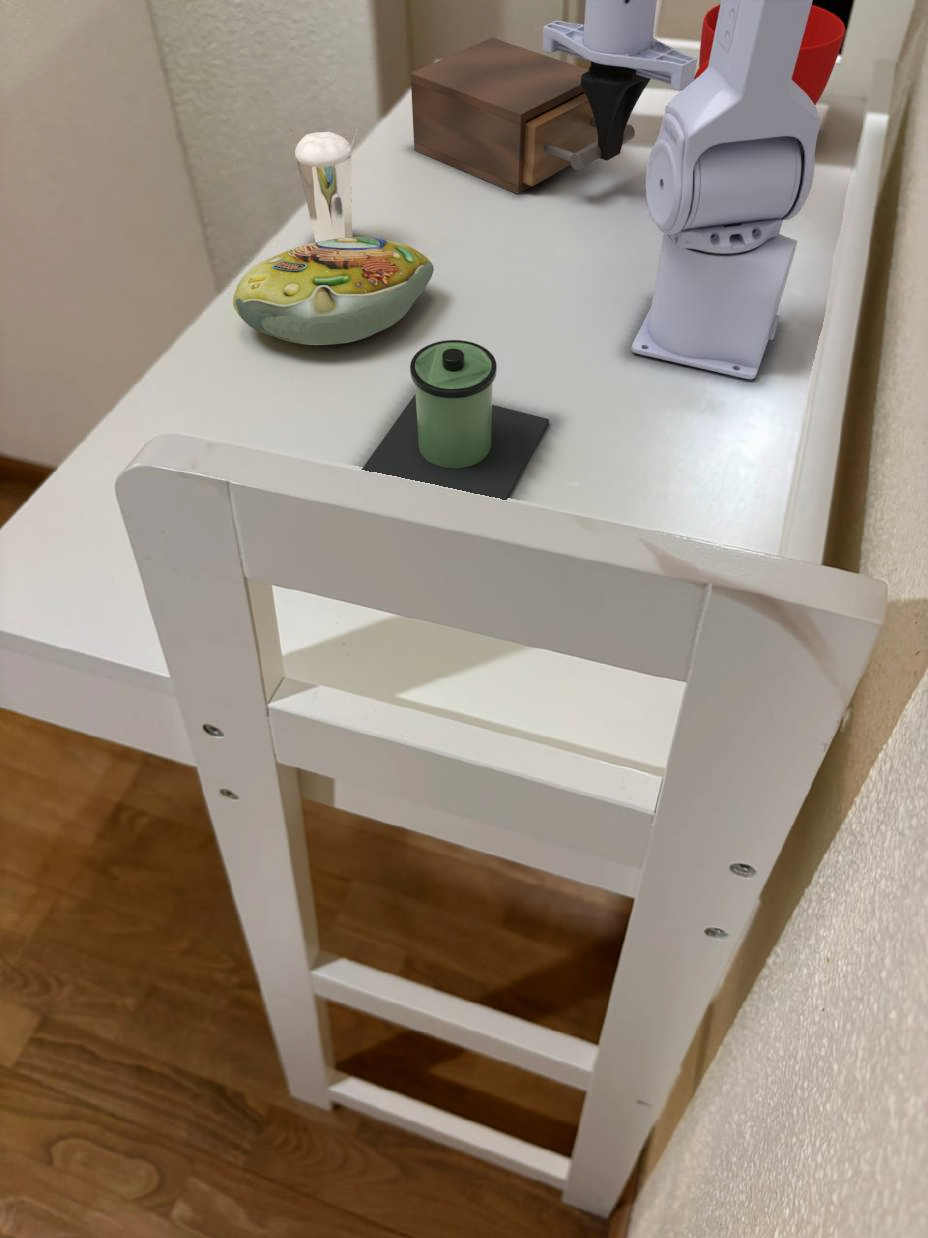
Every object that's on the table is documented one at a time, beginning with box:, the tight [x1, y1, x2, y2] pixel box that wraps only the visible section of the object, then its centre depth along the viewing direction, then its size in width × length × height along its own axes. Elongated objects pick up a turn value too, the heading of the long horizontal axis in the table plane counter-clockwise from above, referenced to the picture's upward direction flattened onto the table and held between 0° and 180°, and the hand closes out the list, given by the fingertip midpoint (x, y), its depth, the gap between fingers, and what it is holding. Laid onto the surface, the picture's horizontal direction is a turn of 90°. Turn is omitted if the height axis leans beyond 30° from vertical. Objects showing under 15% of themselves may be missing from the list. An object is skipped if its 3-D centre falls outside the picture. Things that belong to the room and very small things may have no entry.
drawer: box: [523, 93, 636, 187], centre depth 87 cm, size 17×10×5 cm, turn 48°
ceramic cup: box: [694, 3, 846, 106], centre depth 89 cm, size 13×17×10 cm
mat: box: [361, 393, 550, 501], centre depth 64 cm, size 10×10×1 cm
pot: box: [409, 339, 498, 469], centre depth 61 cm, size 6×6×7 cm
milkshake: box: [294, 127, 359, 243], centre depth 77 cm, size 4×5×10 cm
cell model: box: [232, 236, 435, 346], centre depth 71 cm, size 11×8×15 cm
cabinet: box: [410, 37, 589, 195], centre depth 89 cm, size 14×12×7 cm
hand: (607, 154), depth 84 cm, fingers closed, pressing on drawer
